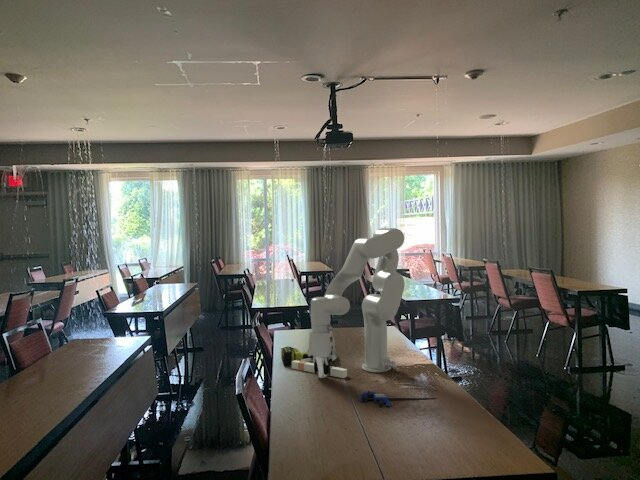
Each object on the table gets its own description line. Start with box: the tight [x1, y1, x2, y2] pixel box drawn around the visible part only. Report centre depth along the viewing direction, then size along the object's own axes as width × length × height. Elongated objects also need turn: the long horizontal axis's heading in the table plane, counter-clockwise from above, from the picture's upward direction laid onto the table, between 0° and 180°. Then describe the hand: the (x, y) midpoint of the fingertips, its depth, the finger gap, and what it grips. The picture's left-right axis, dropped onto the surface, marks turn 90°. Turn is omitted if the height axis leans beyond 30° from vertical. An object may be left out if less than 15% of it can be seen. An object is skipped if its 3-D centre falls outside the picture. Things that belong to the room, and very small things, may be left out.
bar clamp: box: [359, 390, 436, 408], centre depth 153 cm, size 32×2×10 cm
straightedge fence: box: [291, 360, 348, 379], centre depth 185 cm, size 26×3×3 cm, turn 58°
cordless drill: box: [280, 346, 335, 367], centre depth 207 cm, size 7×25×25 cm
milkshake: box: [315, 356, 328, 379], centre depth 178 cm, size 4×5×10 cm
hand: (322, 372), depth 178 cm, fingers closed on milkshake, 4 cm apart
